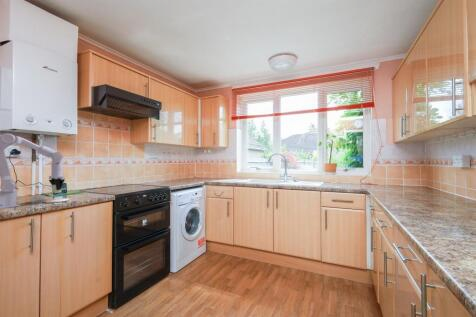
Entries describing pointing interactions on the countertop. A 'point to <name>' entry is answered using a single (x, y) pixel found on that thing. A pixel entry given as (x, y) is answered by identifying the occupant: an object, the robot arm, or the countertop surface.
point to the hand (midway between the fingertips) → (56, 189)
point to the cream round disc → (56, 200)
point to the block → (55, 189)
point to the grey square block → (37, 198)
